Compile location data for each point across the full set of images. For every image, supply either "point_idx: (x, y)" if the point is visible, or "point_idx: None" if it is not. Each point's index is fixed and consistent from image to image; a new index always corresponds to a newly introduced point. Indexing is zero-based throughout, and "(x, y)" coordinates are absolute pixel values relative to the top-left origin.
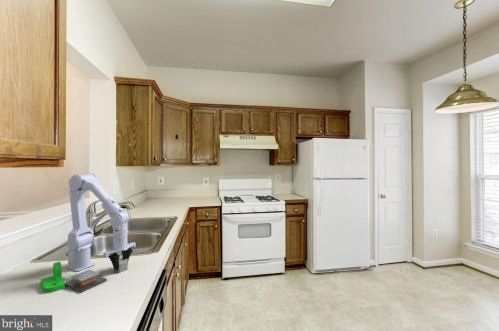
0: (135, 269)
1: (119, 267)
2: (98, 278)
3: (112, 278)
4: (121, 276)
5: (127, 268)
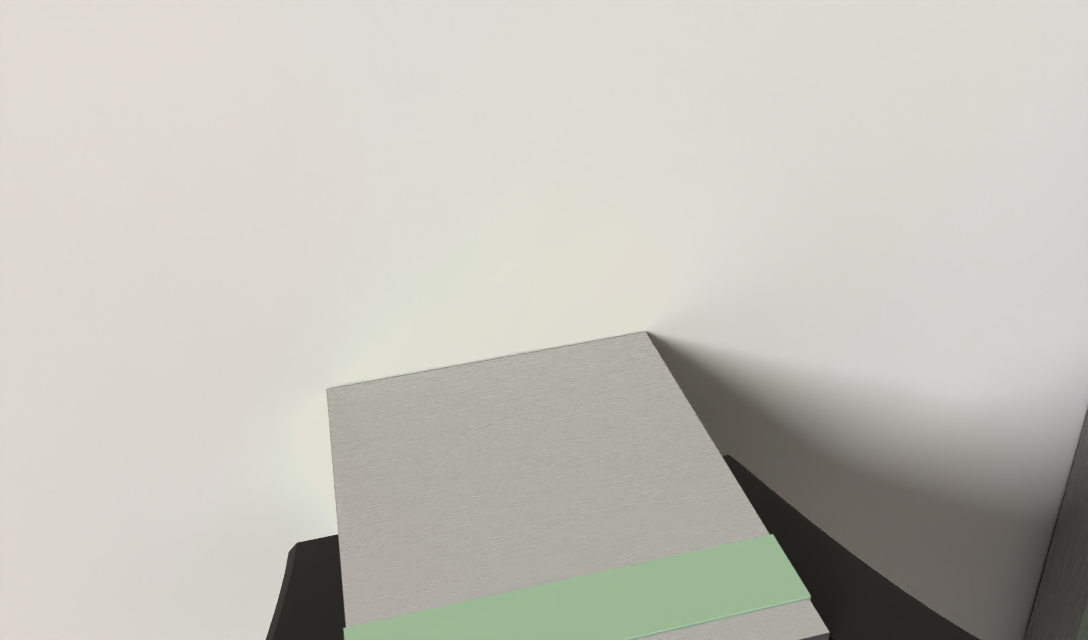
0: (104, 144)
1: (710, 454)
2: None
3: (990, 135)
4: (782, 16)
5: (329, 408)
